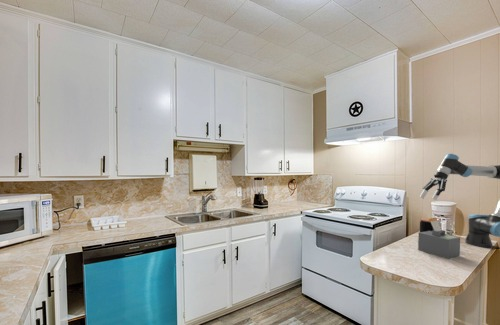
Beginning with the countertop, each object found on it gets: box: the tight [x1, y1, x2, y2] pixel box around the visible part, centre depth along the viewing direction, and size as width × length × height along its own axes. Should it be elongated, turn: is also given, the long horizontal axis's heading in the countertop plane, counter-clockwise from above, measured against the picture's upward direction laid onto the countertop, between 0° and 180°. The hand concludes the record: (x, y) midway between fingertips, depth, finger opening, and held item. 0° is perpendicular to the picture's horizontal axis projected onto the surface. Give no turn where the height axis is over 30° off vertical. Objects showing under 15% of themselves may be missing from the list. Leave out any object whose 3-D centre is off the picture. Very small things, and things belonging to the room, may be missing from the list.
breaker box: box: [417, 229, 461, 260], centre depth 164 cm, size 14×18×15 cm
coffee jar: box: [419, 217, 434, 232], centre depth 185 cm, size 11×11×18 cm
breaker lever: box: [428, 217, 443, 234], centre depth 166 cm, size 6×2×11 cm, turn 117°
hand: (427, 198), depth 175 cm, fingers open, 13 cm apart
